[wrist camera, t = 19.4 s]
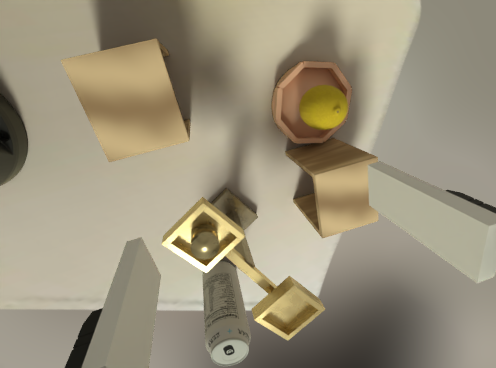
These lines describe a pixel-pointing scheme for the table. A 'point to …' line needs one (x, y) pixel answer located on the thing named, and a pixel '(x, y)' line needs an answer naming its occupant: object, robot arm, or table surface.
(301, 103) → the lemon
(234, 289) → the energy drink can
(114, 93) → the oak cover
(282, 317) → the balance
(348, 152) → the oak cover
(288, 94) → the saucer
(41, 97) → the table surface
